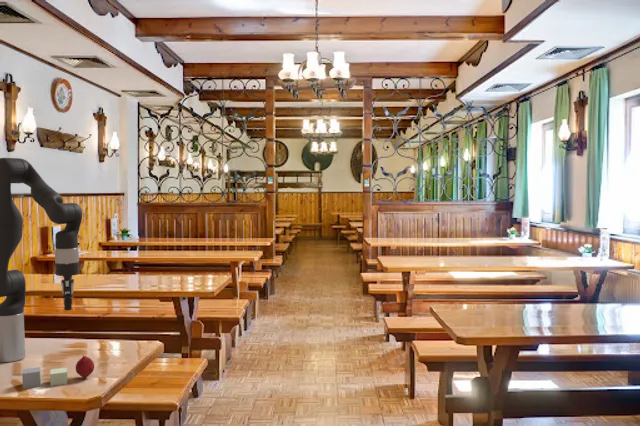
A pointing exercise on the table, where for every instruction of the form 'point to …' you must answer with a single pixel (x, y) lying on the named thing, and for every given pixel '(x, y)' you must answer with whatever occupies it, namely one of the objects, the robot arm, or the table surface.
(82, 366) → the onion
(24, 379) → the slate block
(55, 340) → the table surface
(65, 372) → the sage block
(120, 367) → the table surface
